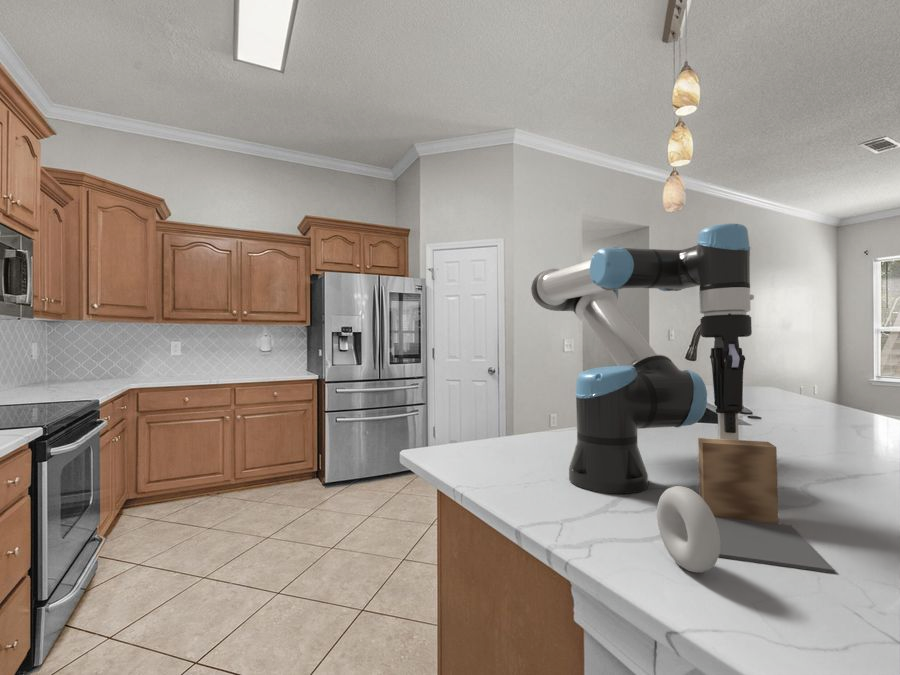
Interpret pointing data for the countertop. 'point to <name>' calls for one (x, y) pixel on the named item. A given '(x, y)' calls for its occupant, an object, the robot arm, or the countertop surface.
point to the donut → (688, 529)
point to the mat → (768, 544)
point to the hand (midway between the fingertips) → (728, 450)
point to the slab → (739, 479)
